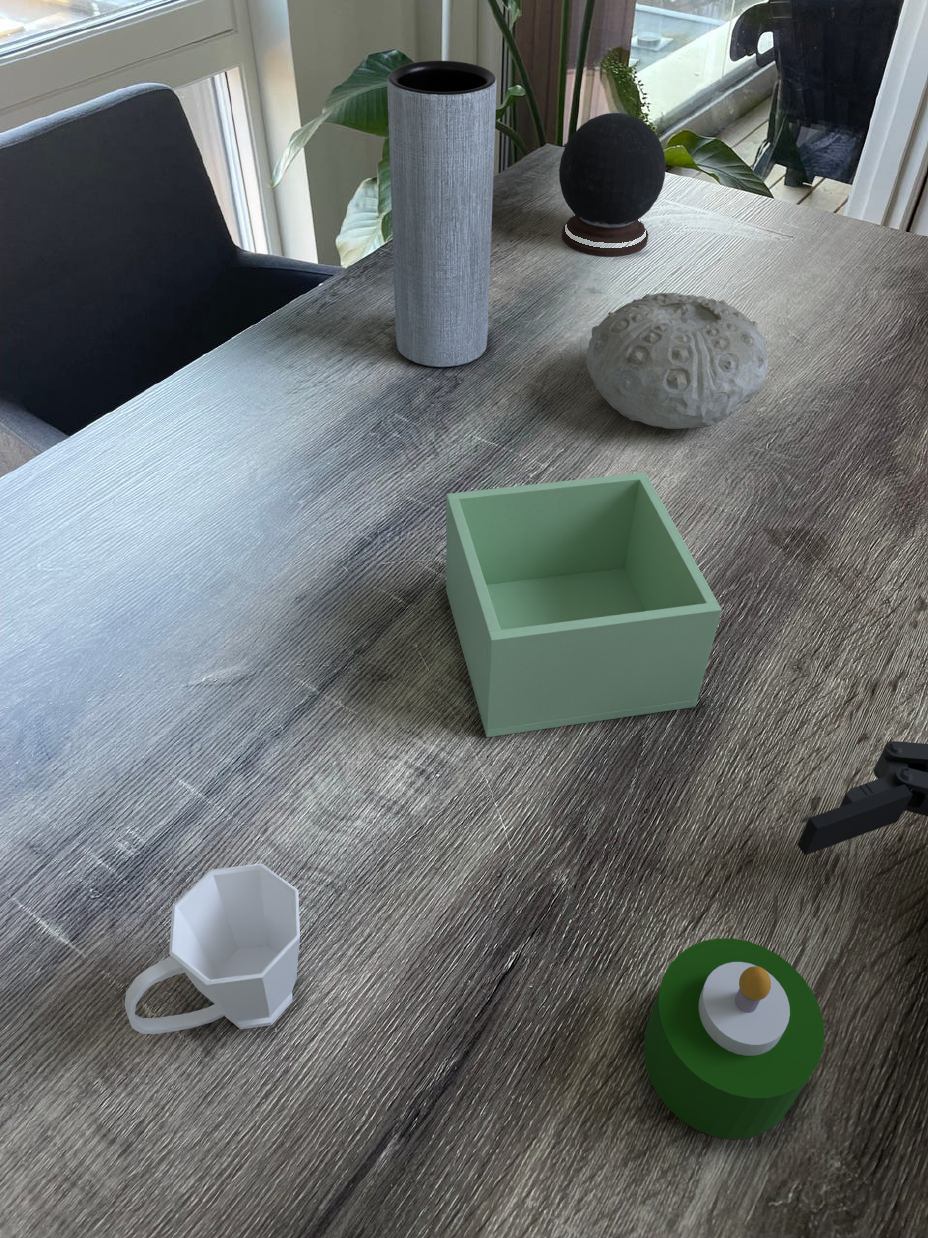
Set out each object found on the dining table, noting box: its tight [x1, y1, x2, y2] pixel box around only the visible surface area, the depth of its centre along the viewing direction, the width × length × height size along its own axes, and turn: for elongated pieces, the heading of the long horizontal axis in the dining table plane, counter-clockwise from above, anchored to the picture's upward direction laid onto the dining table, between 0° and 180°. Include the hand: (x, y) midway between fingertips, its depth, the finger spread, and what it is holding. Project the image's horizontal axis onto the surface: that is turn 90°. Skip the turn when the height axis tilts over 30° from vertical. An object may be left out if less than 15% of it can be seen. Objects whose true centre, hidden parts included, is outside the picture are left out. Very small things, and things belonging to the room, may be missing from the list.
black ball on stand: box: [558, 112, 667, 258], centre depth 125 cm, size 13×13×15 cm
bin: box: [445, 471, 723, 738], centre depth 74 cm, size 16×16×10 cm
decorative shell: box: [585, 292, 769, 430], centre depth 99 cm, size 18×18×10 cm
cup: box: [124, 862, 301, 1035], centre depth 53 cm, size 7×10×8 cm
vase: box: [386, 60, 498, 368], centre depth 100 cm, size 10×10×27 cm
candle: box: [643, 937, 826, 1140], centre depth 51 cm, size 8×8×10 cm
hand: (883, 942), depth 52 cm, fingers open, 13 cm apart
